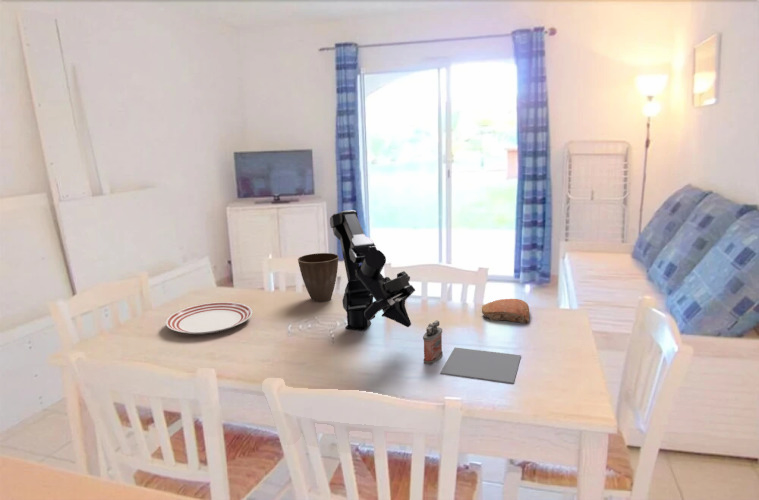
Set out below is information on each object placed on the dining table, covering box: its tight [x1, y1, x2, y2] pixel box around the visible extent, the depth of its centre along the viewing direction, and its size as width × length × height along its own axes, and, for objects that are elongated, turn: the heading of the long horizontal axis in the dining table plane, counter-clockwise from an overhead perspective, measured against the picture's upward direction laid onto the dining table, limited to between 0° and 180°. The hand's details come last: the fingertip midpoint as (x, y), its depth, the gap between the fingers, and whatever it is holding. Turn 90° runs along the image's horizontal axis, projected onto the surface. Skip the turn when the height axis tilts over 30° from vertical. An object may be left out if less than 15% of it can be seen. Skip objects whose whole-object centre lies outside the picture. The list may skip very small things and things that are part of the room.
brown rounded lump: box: [481, 298, 530, 324], centre depth 166 cm, size 15×6×15 cm
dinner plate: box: [165, 301, 253, 335], centre depth 169 cm, size 27×27×3 cm
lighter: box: [422, 319, 443, 366], centre depth 136 cm, size 8×3×10 cm, turn 148°
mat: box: [439, 347, 522, 385], centre depth 132 cm, size 18×16×1 cm
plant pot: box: [297, 252, 340, 303], centre depth 189 cm, size 15×15×16 cm
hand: (409, 325), depth 139 cm, fingers closed
